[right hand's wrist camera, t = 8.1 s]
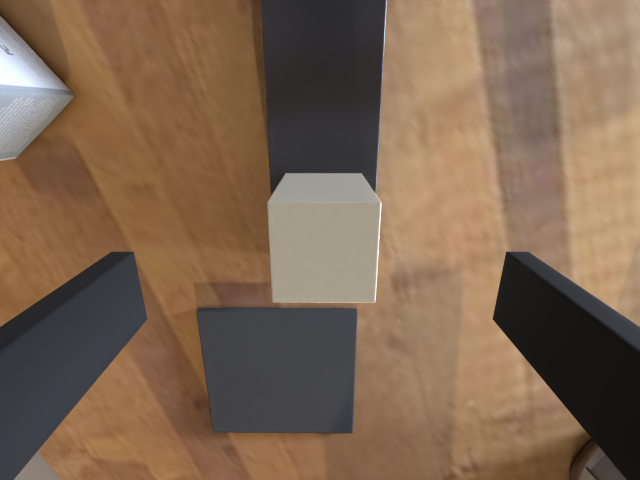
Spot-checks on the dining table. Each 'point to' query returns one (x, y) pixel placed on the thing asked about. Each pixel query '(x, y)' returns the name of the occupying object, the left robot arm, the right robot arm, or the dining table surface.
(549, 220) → the dining table surface
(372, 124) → the dark grey long block
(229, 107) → the dining table surface
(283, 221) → the cap block
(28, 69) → the hard drive box
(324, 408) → the dark grey square plate
